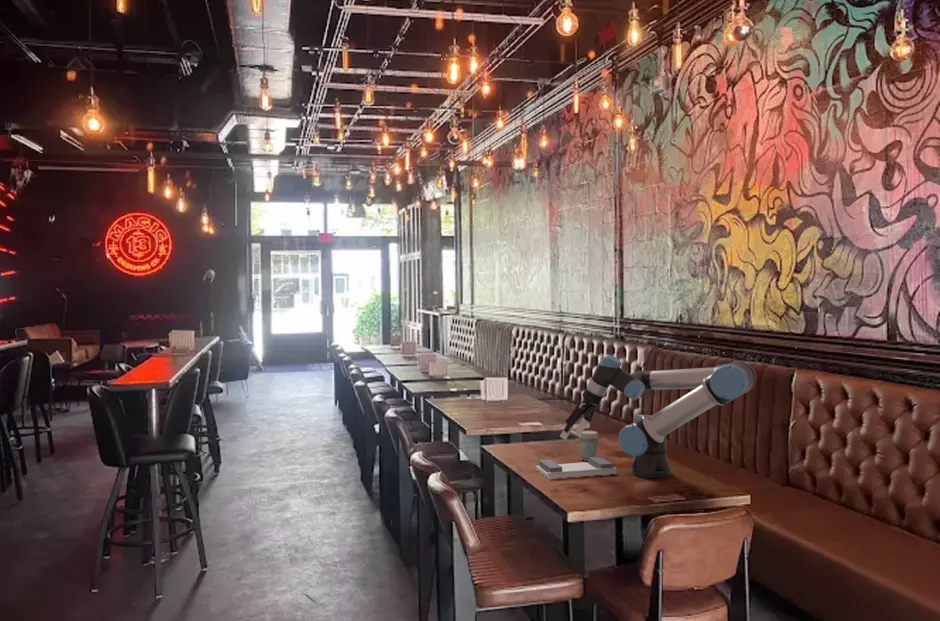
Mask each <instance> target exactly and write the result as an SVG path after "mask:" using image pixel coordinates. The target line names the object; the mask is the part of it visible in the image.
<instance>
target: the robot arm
mask: <svg viewBox="0 0 940 621" xmlns="http://www.w3.org/2000/svg"><path fill="white" fill-rule="evenodd" d="M621 366H622V361H621V360H619V358H618V357H615V356H614V355H611V354H604V355H603V357H602V358H601V360H600V362H598V364H597V367H596V369H595V371H594V372H593V374H592V376H591V378H589V380H588V381H589V382H588V383H587V386H586V387H585V389H584V390H583V392H582V394H581V395H582V397H583V399H584V400H583V401H579V402H578V404H577V406H576V407H575V408H574V409H573V411H572V412H571V413H570V415H569V417H567V419H565V423H566V424H565V426H564V428H563V430H562V431H561V433H560V435H559V438H561V439H562V440H564V441H567V440H568V437H569V435H570V434H571V432H572V430H573V428H574V425H575V424H576V422H578V421H579V420H580V422H579V423H578V425H577V427H576V429H575V433H577V434H578V435H579V434H580V435H581V434H582V432H583V431H585V428H586V426H587V425H588V423H592V420H593V418H594V415H595V412H596V409H597V406H598V405H600V404H601V402H602V400H603V398H604V396H605V395H606V393H607V391H608V389H609V387H610V386H611V387H613V388H615V389H616V390H618V392H620V393H622V394H623V395H624V396H626V397H627V398H629V399H630V400H633V401H636V400H638V399H639V398H641V397H642V396H641V395H642V394H643V393H644V391H659V390H662V391H663V390H664V391H665V390H687V389H688V390H689V389H692V390H691V391H689V392H687V393H686V394H684V395H683V396H681V397H680V398H678V399H676V400H674V401H673V402H672V403H670V404H668V405H666V406H665V407H664V408H662V409H660V410H659V411H657V412H655V413H654V414H652V415H650V414H637V415H636V416H635V420H634V421H633V422H632V423H630V424H627V425H624V426H623V428H621V430H620V431H619V432H618V443H619V446H620V448H621V449H622V451H623V452H624V453H625V454H627V455H629V456H632V457H634V459H633V461H632V464H631V474H632V475H633V476H636V477H640V478H645V479H664V478H668V477H671V475H672V467H671V466H670V462H669V459H668V456H667V436H668V434H671V432H673V431H675V430H677V429H678V428H680V427H682V426H683V425H685V424H687V423H688V422H690V421H692V420H693V419H695V418H697V417H698V416H700V415H702V414H703V413H705V412H706V411H708V410H710V409H712V408H713V407H715V406H716V405H718V406H725V405H727V404H729V403H730V402H732V401H734V400H736V399H738V398H740V397H741V396H742V395H744V394H746V393H749V392H750V391H751V390H752V389H753V388H754V387H755V385H756V383H757V382H756V381H757V373H756V371H755V369H754V368H753V367H752V366H751V364H749V363H746V362H744V361H739V360H738V361H733V362H730V363H723V364H722V363H719V364H717V366H715V367H714V366H713V367H697V368H681V369H664V370H661V369H660V370H638V371H636V372H632V373H629V372H627V371H625V370H624V369H622V368H621ZM582 416H583V417H582ZM581 417H582V418H581Z"/></svg>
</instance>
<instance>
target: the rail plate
mask: <svg viewBox="0 0 940 621" xmlns="http://www.w3.org/2000/svg"><path fill="white" fill-rule="evenodd" d="M535 470H536V471H537V472H538V471H539V472H538V473H539V474H541V475H542V474H543V475H542V476H544V477H545V478H546V477H547V478H546V479H548V480H559V479H558V478H562V479H568V478H567V477H575V478H581V477H580V476H589V477H595V476H594V475H602V476H611V475H610V474H615V475H617V467H613V463H612V462H610V461H609V460H607V459H605V458H603V457H601V456H599V455H598V456H597V455H596V457H588V462H586V461H582V462H571V463H557V462H555V460H552V459H541V460H540V459H539V462H538V465H535Z"/></svg>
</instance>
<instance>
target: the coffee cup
mask: <svg viewBox="0 0 940 621" xmlns="http://www.w3.org/2000/svg"><path fill="white" fill-rule="evenodd" d="M599 437H600V436H599V433H598V431H595V430H583V432H582V434H581V435H580V434H578V439H579V448H580V455H581V456H580V457H581V461H582V460H584V461H583V462H586V461H588V457H596V456H597V453H598V452H597V451H598V450H597V449H598V444H599V443H598V440H599Z"/></svg>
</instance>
